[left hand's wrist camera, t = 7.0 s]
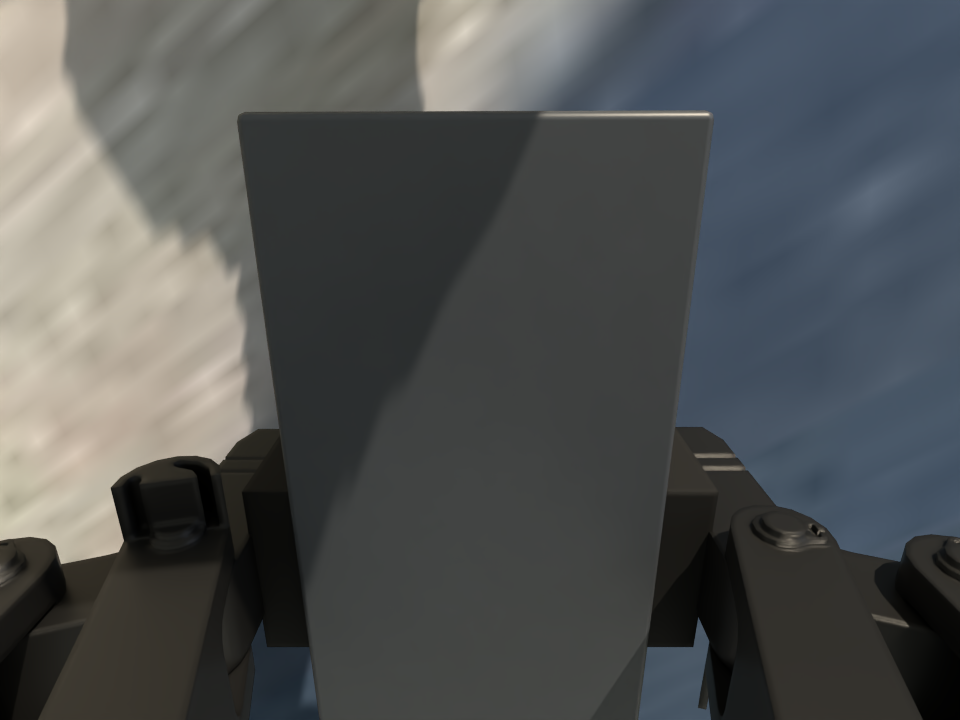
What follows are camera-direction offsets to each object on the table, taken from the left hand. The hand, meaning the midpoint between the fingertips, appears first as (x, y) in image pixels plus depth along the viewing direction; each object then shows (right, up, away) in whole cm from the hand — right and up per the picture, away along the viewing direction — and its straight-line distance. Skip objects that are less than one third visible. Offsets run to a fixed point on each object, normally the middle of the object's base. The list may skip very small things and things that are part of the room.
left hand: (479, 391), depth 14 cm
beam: (0, -33, +13) cm, 35 cm away
